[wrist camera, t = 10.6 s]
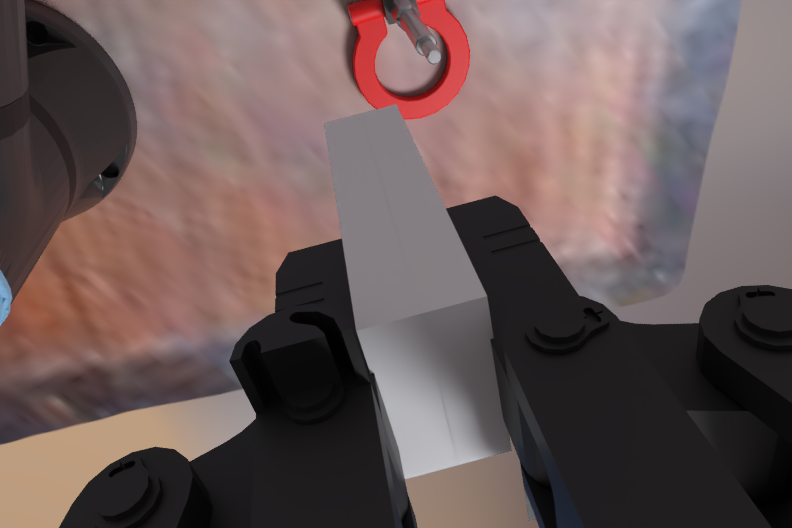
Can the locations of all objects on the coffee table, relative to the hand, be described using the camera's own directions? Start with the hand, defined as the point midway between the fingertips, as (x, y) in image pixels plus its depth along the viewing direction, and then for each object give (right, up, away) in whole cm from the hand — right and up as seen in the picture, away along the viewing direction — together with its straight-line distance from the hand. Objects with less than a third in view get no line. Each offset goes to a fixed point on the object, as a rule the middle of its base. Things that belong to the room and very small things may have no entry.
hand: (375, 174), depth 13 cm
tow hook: (+1, +13, +31) cm, 34 cm away
